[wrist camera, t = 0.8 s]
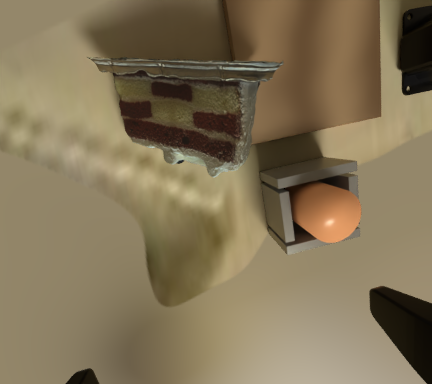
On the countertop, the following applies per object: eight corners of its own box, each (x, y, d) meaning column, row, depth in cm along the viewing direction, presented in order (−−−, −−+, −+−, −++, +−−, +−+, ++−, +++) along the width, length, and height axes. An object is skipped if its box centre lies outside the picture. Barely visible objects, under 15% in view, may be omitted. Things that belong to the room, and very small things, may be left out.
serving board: (367, -32, 17) (378, -43, 16) (371, 117, 19) (381, 116, 18) (220, -8, 16) (223, -18, 15) (246, 144, 19) (249, 145, 18)
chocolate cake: (102, 159, 17) (214, 228, 11) (75, 53, 14) (220, 58, 7) (192, 134, 24) (299, 169, 17) (189, 57, 20) (325, 61, 13)
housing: (323, 157, 20) (356, 161, 16) (328, 218, 21) (360, 236, 17) (259, 171, 19) (277, 179, 15) (268, 233, 21) (287, 255, 17)
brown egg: (320, 173, 19) (360, 183, 14) (324, 215, 20) (362, 235, 15) (278, 183, 18) (305, 196, 14) (284, 225, 19) (311, 248, 15)
